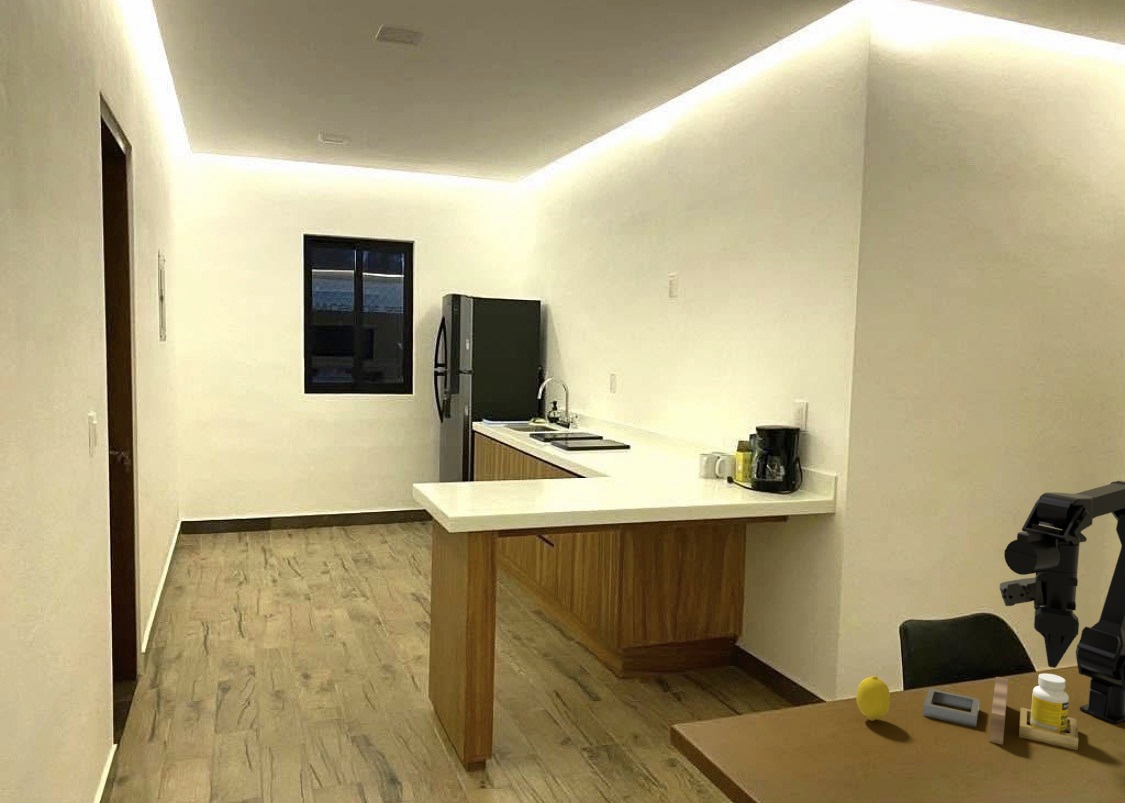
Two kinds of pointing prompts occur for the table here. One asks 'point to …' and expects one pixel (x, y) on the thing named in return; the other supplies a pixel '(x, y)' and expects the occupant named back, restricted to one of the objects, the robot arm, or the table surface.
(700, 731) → the table surface
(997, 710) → the brown wooden bar
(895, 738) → the table surface
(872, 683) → the lemon
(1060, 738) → the frame
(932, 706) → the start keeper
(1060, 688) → the supplement bottle
